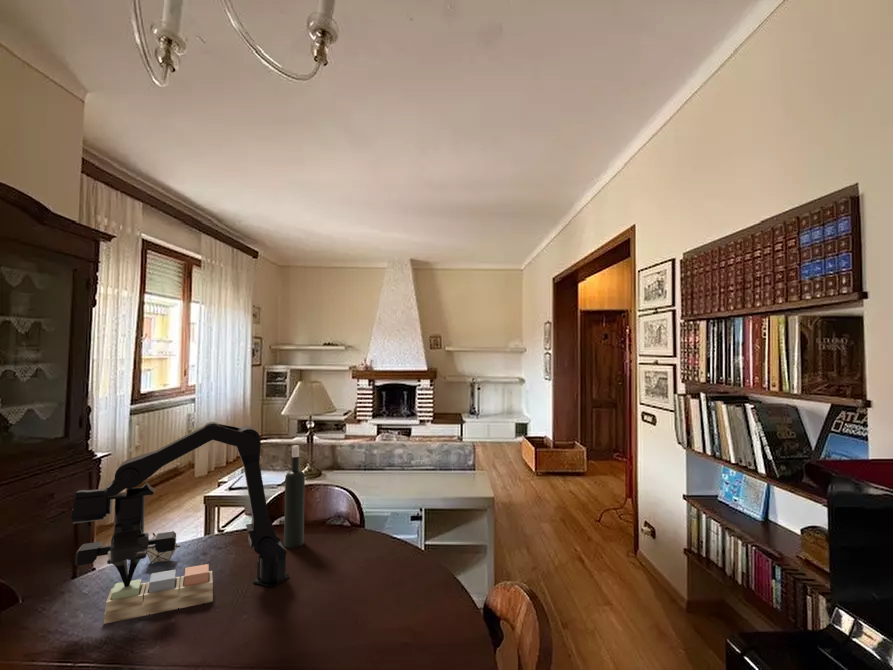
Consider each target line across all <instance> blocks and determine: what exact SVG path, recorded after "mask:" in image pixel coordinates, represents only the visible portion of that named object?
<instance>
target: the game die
mask: <svg viewBox="0 0 893 670" xmlns="http://www.w3.org/2000/svg"><path fill="white" fill-rule="evenodd" d="M152 536H153V537H152V538H151V539H156V537H157V534H155V532H152ZM180 547H181V545H178V544H177V543H176V546H175V550H173V551H168V552H161V553H159V552H157V551H156V550H155V548H149V549H148V552H147V557H148V560H149V561H150V562H149V564H148V566H152V564H153V563H161V562H168V563H169V564H171V562H172V561H171V559H172V557H173V555H174V553H175V551H176V550H177V548H180Z"/></svg>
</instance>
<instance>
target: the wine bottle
mask: <svg viewBox="0 0 893 670" xmlns="http://www.w3.org/2000/svg"><path fill="white" fill-rule="evenodd" d="M299 458H300V445H297V444H294V445H292V446H291V470H290V471H288V472H287V473H286V475H285V476H284V477H285V478H284V480H285V481H284V482H285V483H284V521H283V522H284V523H283V524H284V525H283V527H284V528H283V529H284V530H283V545H284V547H285V548H287V549H294V548H295V547H296V548H299V547H301V546H303V545H304V541H305V532H304V531H305V495H306V494H305V489H306V488H305V486H306V484H305V483H306V481H305V479H306V475H305V473H304V472H303V471H302V470H299V469H300V468H299V467H300V466H299V464H300V462H299V460H300V459H299ZM296 548H295V549H296Z"/></svg>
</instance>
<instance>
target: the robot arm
mask: <svg viewBox="0 0 893 670" xmlns="http://www.w3.org/2000/svg"><path fill="white" fill-rule="evenodd" d="M211 441H216V442H219V443H221V444H225V445H230V446H232V447H236V449H237V452H238V455H239V457H240V459H241V462H242V466H243V470H244V476H245V482H246V487H247V494H248V499H249V500H248V501H249V505H250V510H251V511H250V512H251V523H247V524H245V526H246V530H247V532H248V537H247V540H248V543H249V546H250V548H251V549H253V548H254V549H253V550H254V552H255V554H257V555H258V560H257V564H256V565H257V567H256V568H257V569H256V570H257V571H256V577H257V578H255V579H253V583H254V584H256V585H260V586H265V587H268V588H274V587H275V586H277V585H279V584H280V583H282V582H283V581H285V580H287V579H289V578H290V576H291V575H290V574H287V573H286V567H287V565H286V564H287V563H286V562H287V561H286V560H287V552H288V551H287V549H286V547H285V546H284V542H283V541H282V539H281V538H279V537H278V536H277V533H276V531H275V528H274V526H273V523H272V521H271V518H270V516H269V511H268V505H267V500H266V494H265V489H264V488H265V487H264V481H263V477H262V471H261V464H260V458H261V445H262V444H261V442H262V441H261V436H260V434H259V432H258V431H257V429H256V428H254V427H251V426H248V425H247V426H246V425H245V426H241V427H236V426H233V425H227V424H220V423H218V422H215V421H209V422H207V423H205V424H204V425H203V426H202V427H200V428H198V429H196V430H194V431H192V432H190V433H188V434H185V435H184V436H182V437H180V438H178V439H176V440H175V441H172V442H169V443H168V444H167V445H164V446H162V447H161V448H159V449H156V450H154V451H150V452H146V453H143V454H139V455H137V456H134V457H131V458H128V459H125V460H124V461H122V462H121V464H120V465H119V466H118V468H117V469H116V471H115V473H114V479H113V480H112V482H109V483H108V485H107V487H106V488H99V489H81V490H80V489H79V490H78V491H76V493H75V496H74V497H75V498H74V503H73V507H72V509H71V523H72V524H73V525H75V524H79V523H80V524H81V523H87V522H96V521H97V522H98V521H104V520H105V519H106V517H107V515H112V512H113V500H114V519H113V520H114V521H113V523H114V524H113V526H114V527H113V534H112V537H111V538H110V539H111V540H110V545H109V544H108V545H103V543H102V542H103V541H95V542H90V543H89V542H88V543H83V544H82V545H81V546H79V548H78V550H77V551H76V553H75V555H74V566H77V567H78V566H84V565H89V564H93V563H94V562H95V561H96V560H97V559H98V557H102V556H107V561H106V563H107V565H113V566H114V567H115V568H116V571H118V573H119V576H120V578H121V580H122V582H123V584H124V586H125V587H128V586H129V585H130V582H131V581H132V579H133V576H134V574H135V571H136V569H137V567H138V564H139V563H140V561H141V560H142V559H146V558H147V557H148V555H147V552H148V549H149V548H155V550H156V551H157V552H159V553H161V552H168V551H173V550H175V546H176V544H177V533H176V532H175V531H174V530H172V531H167V532H157V534H156V535H157V537H156V539H152V538H151V539H150V537H149V535H150V534H149V532H145V503H146V497H147V496H153V495H154V494H155V490H156V489H155V488H154V487H152V486H151V485H150V484H149V482H146V483H145V484H143V486H140V487H138V486H139V485H141V484H142V483H143V482H145V481H146V480H148V479H149V478H150V477H152V476H153V475H154V474H155V473H156V472H158V471H159V470H160V469H161V468H163V467H164V466H166V465H167V464H170V463H171V462H173V461H175V460H178V459H179V458H181V457H183V456H185V455H186V454H188V453H190V452H192V451H195V450H196V449H197V448H199V447H202V446H204V445H205V444H207V443H209V442H211ZM126 489H127V491H124V490H126ZM175 551H176V550H175ZM128 561H129V567H128Z"/></svg>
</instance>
